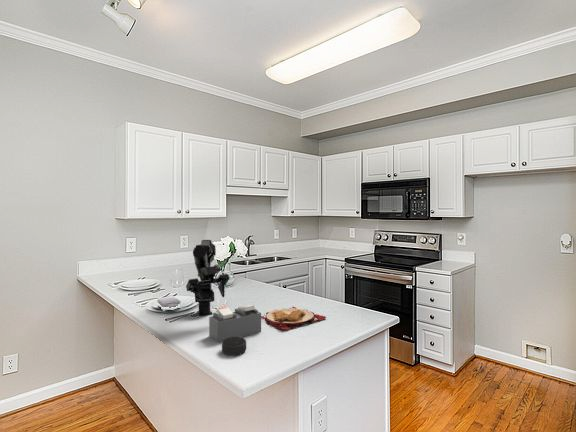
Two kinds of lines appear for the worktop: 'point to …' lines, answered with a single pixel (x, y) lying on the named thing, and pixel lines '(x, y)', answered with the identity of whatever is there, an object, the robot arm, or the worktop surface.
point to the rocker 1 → (224, 312)
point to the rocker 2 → (246, 308)
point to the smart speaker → (234, 346)
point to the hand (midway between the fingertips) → (214, 298)
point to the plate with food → (290, 317)
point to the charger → (169, 302)
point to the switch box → (234, 325)
